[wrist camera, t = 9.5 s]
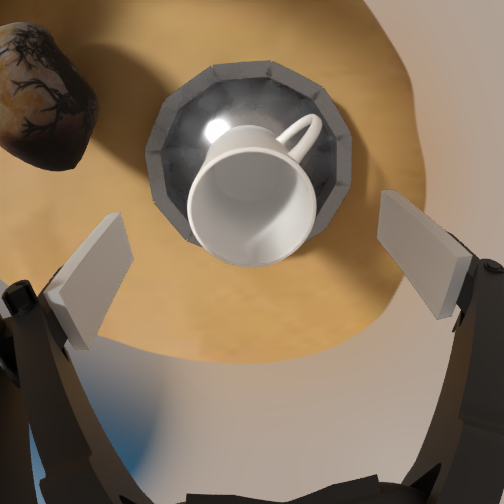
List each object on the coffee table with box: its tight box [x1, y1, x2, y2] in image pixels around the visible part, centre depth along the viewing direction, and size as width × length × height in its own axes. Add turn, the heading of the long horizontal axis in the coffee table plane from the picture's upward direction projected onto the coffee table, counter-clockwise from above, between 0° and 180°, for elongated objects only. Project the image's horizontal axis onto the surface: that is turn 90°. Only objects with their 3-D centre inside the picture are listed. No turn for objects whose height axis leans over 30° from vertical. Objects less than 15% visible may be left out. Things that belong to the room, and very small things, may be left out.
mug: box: [187, 114, 322, 267], centre depth 23 cm, size 12×8×12 cm
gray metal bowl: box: [144, 60, 352, 247], centre depth 28 cm, size 19×19×3 cm
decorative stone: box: [0, 22, 98, 171], centre depth 17 cm, size 18×9×15 cm, turn 38°
